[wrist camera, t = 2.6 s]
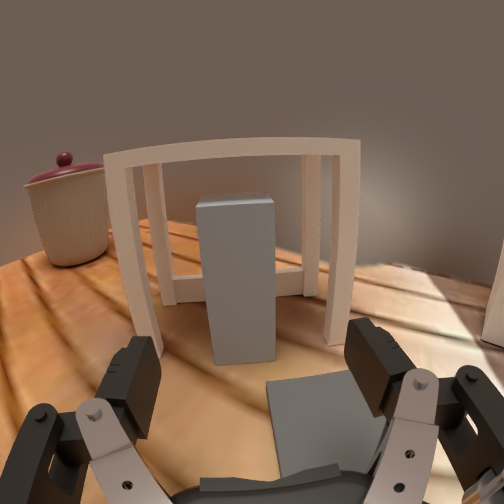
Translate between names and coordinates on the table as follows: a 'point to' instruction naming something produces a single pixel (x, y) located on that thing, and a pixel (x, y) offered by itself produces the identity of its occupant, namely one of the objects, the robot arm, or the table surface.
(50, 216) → the canister
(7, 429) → the table surface
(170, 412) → the table surface
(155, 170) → the rack
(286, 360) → the table surface
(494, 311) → the milk carton
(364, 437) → the mat
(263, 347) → the blank
